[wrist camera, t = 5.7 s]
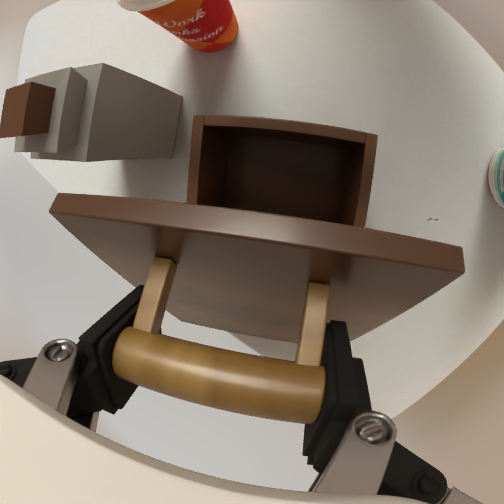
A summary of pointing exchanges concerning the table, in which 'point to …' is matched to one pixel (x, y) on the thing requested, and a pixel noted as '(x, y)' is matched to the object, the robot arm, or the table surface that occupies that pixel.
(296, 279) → the chest lid
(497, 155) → the pill bottle
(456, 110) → the table surface
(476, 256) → the table surface
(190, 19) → the paper cup
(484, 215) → the table surface
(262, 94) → the table surface
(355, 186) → the chest
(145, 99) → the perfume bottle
